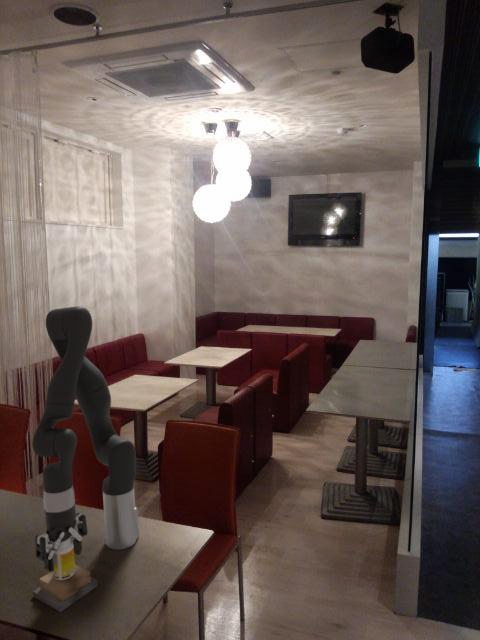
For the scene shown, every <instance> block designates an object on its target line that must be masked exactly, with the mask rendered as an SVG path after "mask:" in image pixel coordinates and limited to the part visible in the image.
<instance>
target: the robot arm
mask: <svg viewBox="0 0 480 640" xmlns="http://www.w3.org/2000/svg"><path fill="white" fill-rule="evenodd" d="M45 328H46V332H47V335H48V337H49V339H50V342H51V343H52V345H53V347H54V349H55V351H56V354H57V356H58V357H59V359H60V361H61V363H60V364H59V365H58V367H57V369H56V371H55V372H54V373H53V375H52V376H51V379H50V380H49V383H48V387H47V391H46V392H47V393H46V399H45V405H44V406H45V407H44V411H43V414H42V416H41V419H40V421H39V423H38V425H37V427H36V430H35V432H34V433H33V438H32V442H31V443H32V444H31V445H32V450H33V452H34V454H35V455H36V456H37V457H41V458H58V459H59V461H57V462H52V463H49V464H47V465H45V466H44V468H43V470H42V484H43V486H42V487H43V510H44V522H45V526H46V531H45V533H43V534H41V535H39V534H37V535H35V539H34V540H35V558H36V559H39V560H40V561H43V564H44V565H43V566H44V569H45V570H46V571H47V572H48V573H50V572H52V571H54V563H53V558H52V556H53V554H54V552H55V550H57V548H58V546H59V544H60V543H61V542H63V541H64V540H66V539H68V538H70V539H71V538H72V543H73V545H74V555H77V556H79V555H81V553H82V551H83V550H82V549H83V547H82V540H83V538H84V537H85V536H87V535H88V526H87V519H86V518H87V517H86V514H83V513H81V512H77V511H76V498H75V496H76V495H75V489H74V484H73V471H72V470H73V463H74V458H75V453H76V449H77V445H78V437H77V435H76V433H75V431H73V430H72V429H71V428H55V427H56V425H57V424H58V423H59V422H60V421H65V420H68V419H70V418H73V416H74V409H75V402H76V401H77V404H78V406H79V409H80V410H81V413H82V416H83V418H84V420H85V424H86V425H87V428H88V431H89V434H90V438H91V442H92V446H93V451H94V454H95V456H96V459H97V460H98V462H99V463H100V464H102V465H104V466H106V467H108V476H107V477H106V478H104V480H103V481H102V483H101V484H102V485H101V486H102V500H103V515H104V516H103V517H104V531H105V534H104V535H105V545H106V547H108V549H112V550H114V551H115V550H116V551H117V550H125V549H127V548H130V547H132V546H134V544H135V543H136V542H137V539H138V538H139V537H140V533H139V532H140V531H139V511H138V509H139V508H137V507H136V502H135V500H136V499H135V484H134V483H135V481H136V476H137V453H136V448H135V446H134V444H133V442H132V441H130V440H129V439H126V438H124V437H122V436H120V435H118V433H117V432H116V430H115V427H114V426H113V423H112V420H111V415H110V414H111V406H112V396H111V391H110V388H109V386H108V383H107V380H106V378H105V376H104V374H103V372H101V370H100V369H99V368H98V367H97V366H96V365H94V363H93V362H92V361H90V360H89V359H88V358H87V357H86V352H87V348H88V345H89V342H90V339H91V335H92V330H93V318H92V315H91V313H90V311H89V310H88V309H87V307H84V306H77V305H76V306H69V307H62V308H55V309H51V310H50V311H48V313H47V315H46V317H45ZM76 526H77V527H76ZM75 528H77V530H75ZM52 543H53V544H52Z"/></svg>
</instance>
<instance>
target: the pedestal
mask: <svg viewBox="0 0 480 640" xmlns="http://www.w3.org/2000/svg"><path fill="white" fill-rule="evenodd" d="M98 586H99V580H98V579H97V578H94V577H93V576H91V571H90V570H88V569H86V568H83V567H81V566H80V565H77V564H75V573H74V575H73V576H72V577H71V578H69V579H66V580H56V579H55V578H54V577H53V571H52V572H48V573H47V574H45V575H44V576H42V577H40V578H39V587H38V588H36V589H35V590H33V591H32V594H33V595H32V596H33V598H35V599H37V600H39V601H40V602H42V603H44V604H45V605H47V606H49V607H50V608H52V609H55V610H56V611H58V612H59V613H62V612H63V611H65V610H66V609H68V608H69V607H70V606H71V605H73V604H75V603H76V602H77V601H78V600H80V599H82V598H83V597H85V596H86V595H87V594H88V593H90V592H91V591H92V590H94V589H95V588H97V587H98Z"/></svg>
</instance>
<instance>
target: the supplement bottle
mask: <svg viewBox="0 0 480 640" xmlns="http://www.w3.org/2000/svg"><path fill="white" fill-rule="evenodd" d="M52 558H53V563H54V571H53V577H54V578H55V579H56V580H66V579H69V578H71V577H72V576H73V575H74V573H75V565H76V561H75V560H76V559H75V553H74V545H73V541H71V537H70V538H68V539H66V540H64V541H63V542H61V543H60V544H59V546H58V548H57V550H55V552H54V554H53V556H52Z"/></svg>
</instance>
